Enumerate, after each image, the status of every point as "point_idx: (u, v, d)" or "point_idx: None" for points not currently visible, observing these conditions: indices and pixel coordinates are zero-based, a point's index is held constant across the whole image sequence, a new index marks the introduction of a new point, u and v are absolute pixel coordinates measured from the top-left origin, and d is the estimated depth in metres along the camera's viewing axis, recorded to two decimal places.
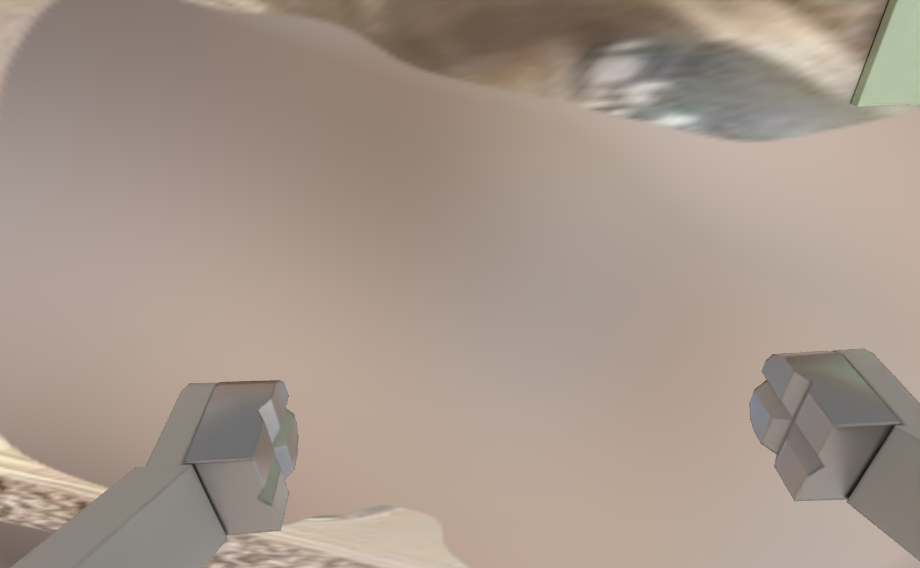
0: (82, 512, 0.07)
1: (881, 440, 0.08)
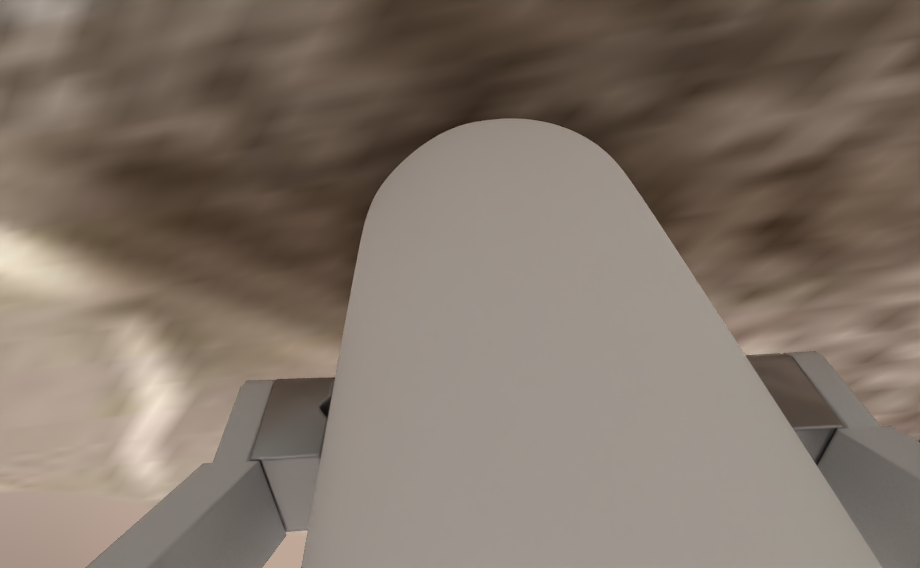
0: (155, 508, 0.07)
1: (824, 443, 0.08)
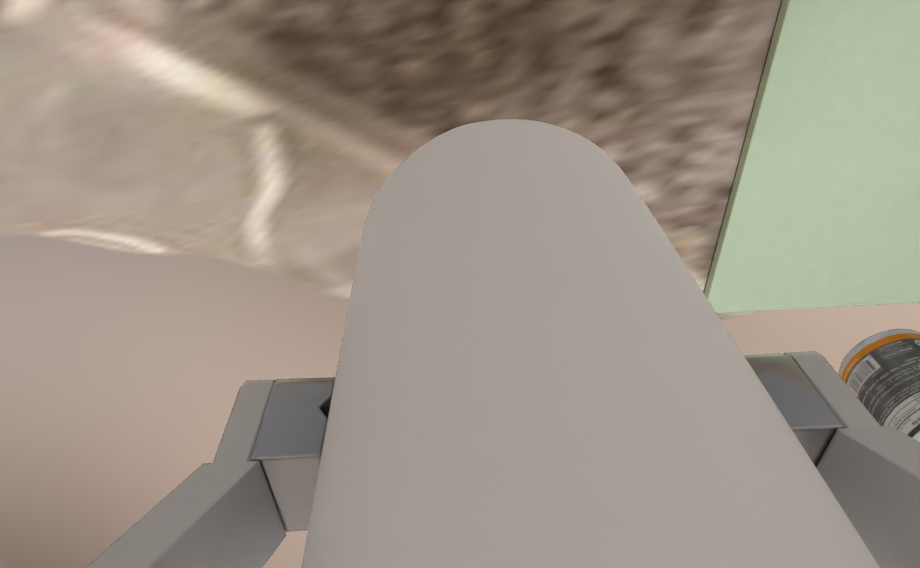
0: (155, 508, 0.07)
1: (824, 443, 0.08)
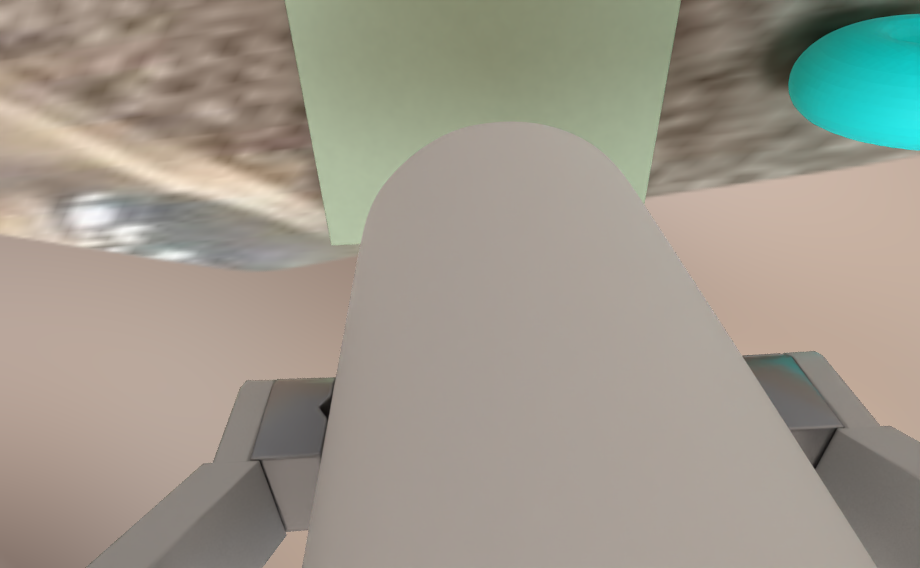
0: (155, 508, 0.07)
1: (824, 443, 0.08)
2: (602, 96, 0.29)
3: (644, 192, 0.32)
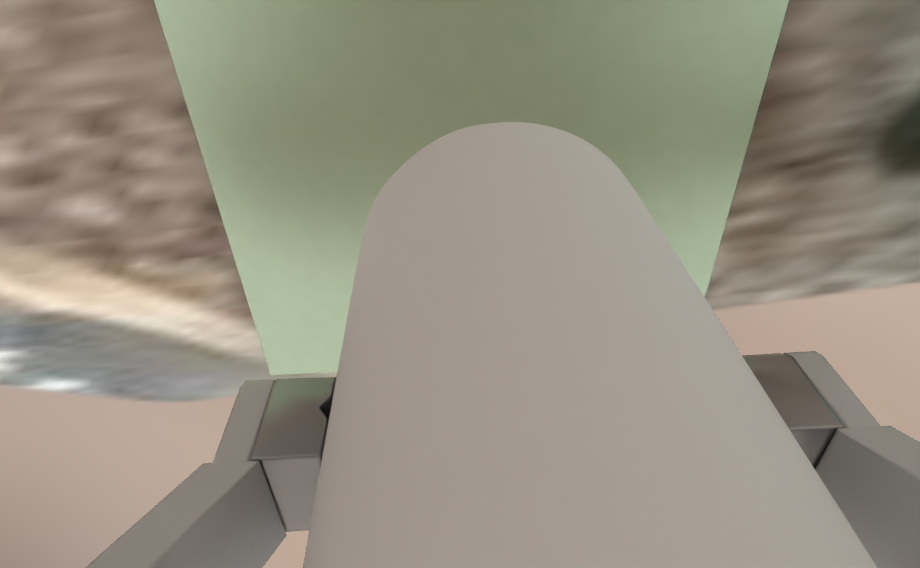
0: (155, 508, 0.07)
1: (825, 443, 0.08)
2: (647, 190, 0.20)
3: None
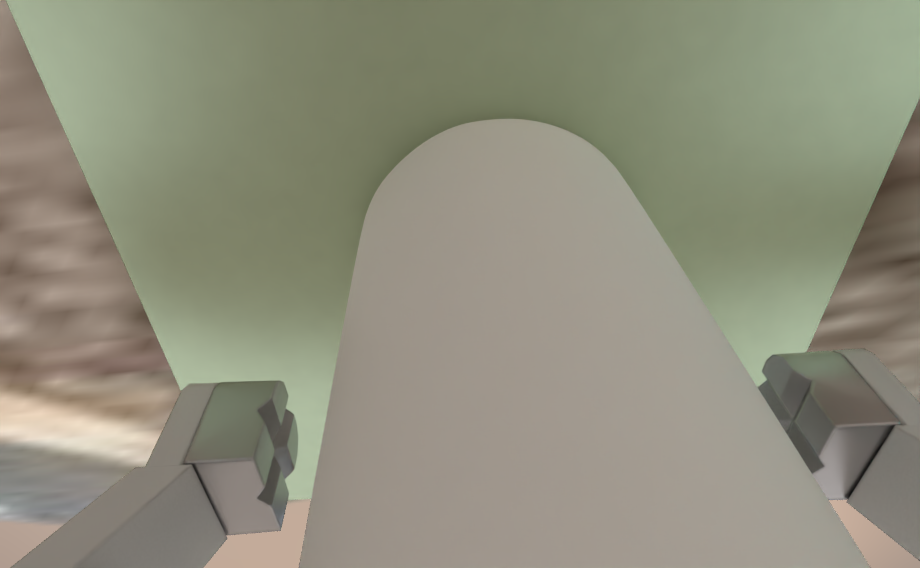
0: (82, 512, 0.07)
1: (881, 440, 0.08)
2: (717, 296, 0.15)
3: None
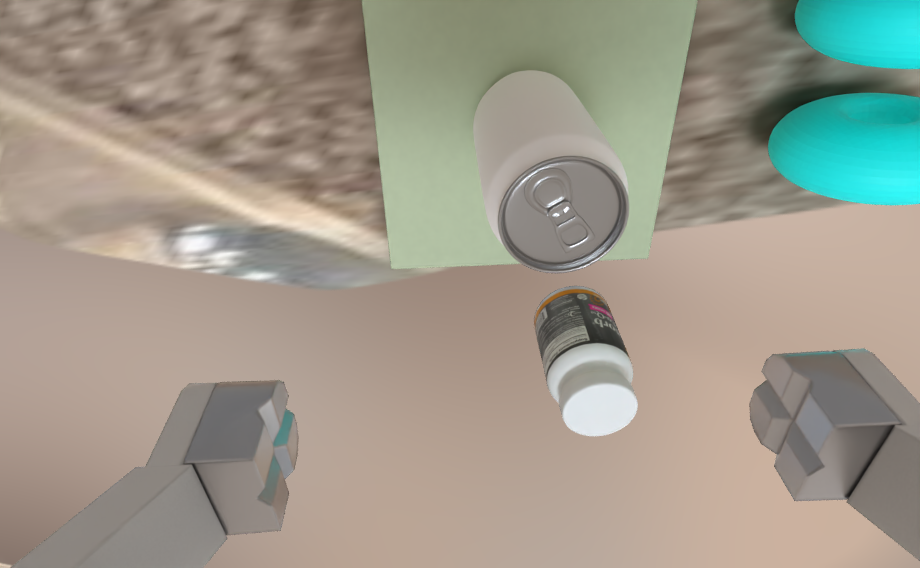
0: (82, 512, 0.07)
1: (881, 440, 0.08)
2: (618, 152, 0.35)
3: (652, 227, 0.39)
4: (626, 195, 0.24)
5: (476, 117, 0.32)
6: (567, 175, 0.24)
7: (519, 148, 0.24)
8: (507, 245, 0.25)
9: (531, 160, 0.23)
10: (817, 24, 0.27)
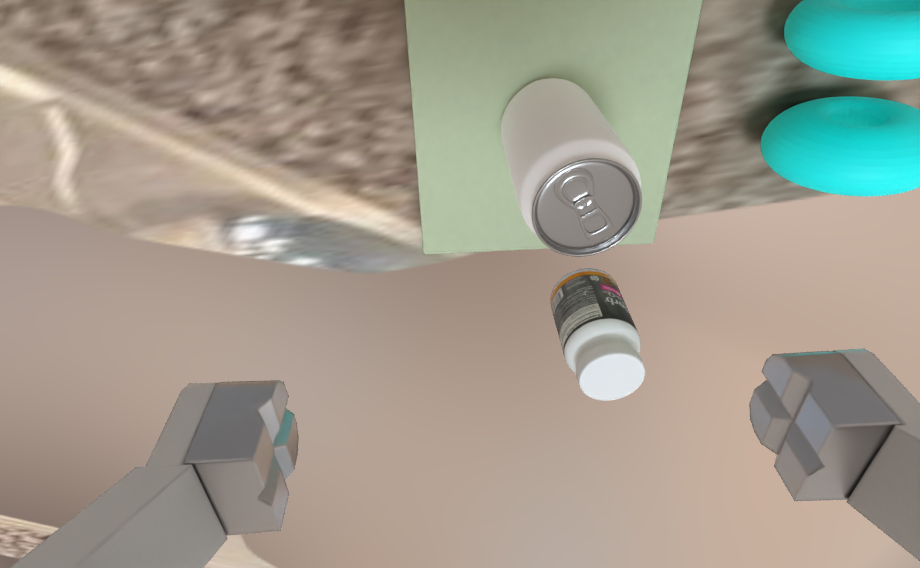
0: (82, 512, 0.07)
1: (881, 440, 0.08)
2: (628, 148, 0.40)
3: (657, 215, 0.43)
4: (640, 190, 0.28)
5: (504, 120, 0.37)
6: (590, 174, 0.28)
7: (550, 151, 0.29)
8: (539, 233, 0.30)
9: (560, 162, 0.28)
10: (802, 41, 0.31)
